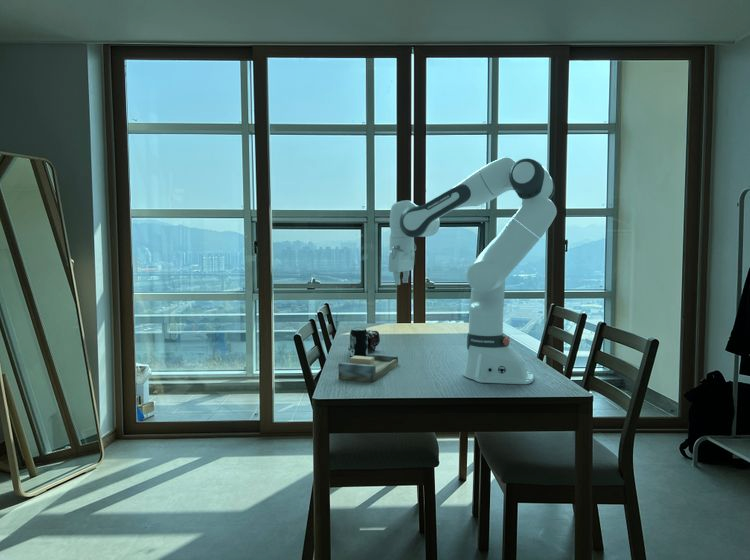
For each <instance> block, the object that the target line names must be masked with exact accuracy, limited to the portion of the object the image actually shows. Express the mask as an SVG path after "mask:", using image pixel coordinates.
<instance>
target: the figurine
mask: <svg viewBox="0 0 750 560" xmlns="http://www.w3.org/2000/svg"><path fill="white" fill-rule="evenodd" d="M366 331H367V332H368V351H371V352H373V353H375V352H376V347H377V346H379V344H380V341H381V338H380V333H379V331H377V330H373V329H369V330H366ZM348 351H350V347H348Z"/></svg>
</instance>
